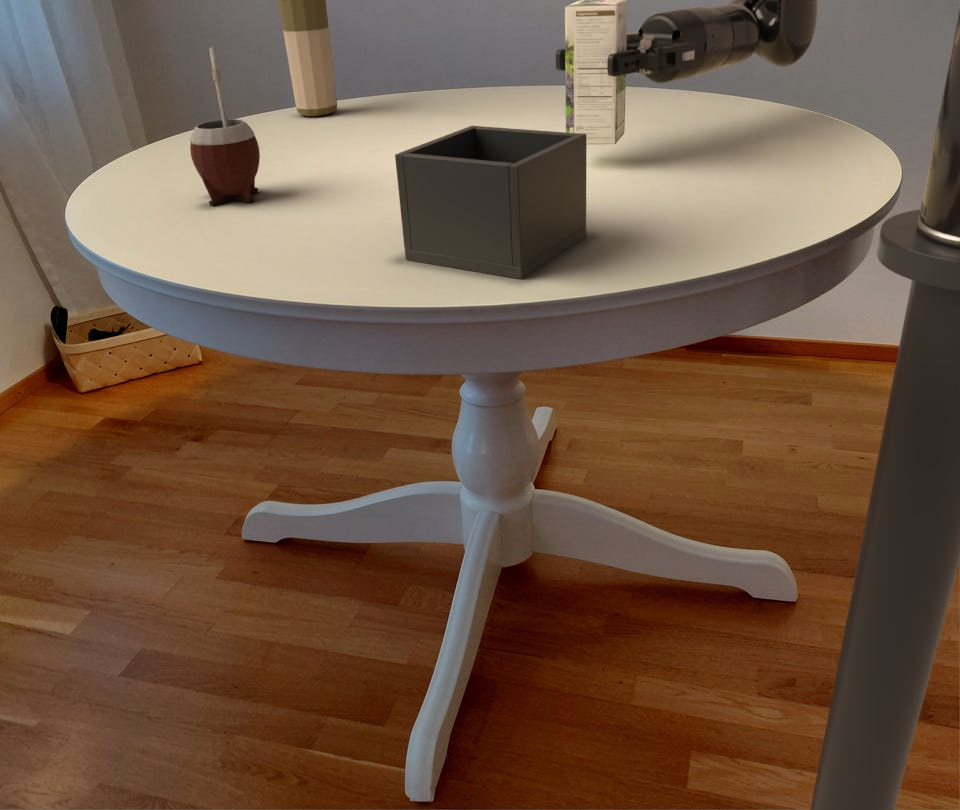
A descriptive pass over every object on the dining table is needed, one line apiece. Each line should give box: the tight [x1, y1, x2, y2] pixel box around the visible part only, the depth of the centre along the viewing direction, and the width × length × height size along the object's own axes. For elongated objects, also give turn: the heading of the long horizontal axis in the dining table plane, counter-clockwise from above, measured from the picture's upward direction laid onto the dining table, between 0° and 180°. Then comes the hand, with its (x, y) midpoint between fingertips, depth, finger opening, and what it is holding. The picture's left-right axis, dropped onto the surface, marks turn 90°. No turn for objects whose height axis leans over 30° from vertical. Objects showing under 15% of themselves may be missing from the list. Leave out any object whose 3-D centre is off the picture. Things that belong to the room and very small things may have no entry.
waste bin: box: [394, 125, 587, 280], centre depth 75 cm, size 12×12×9 cm
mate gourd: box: [189, 46, 261, 207], centre depth 94 cm, size 8×8×15 cm
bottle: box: [277, 0, 338, 118], centre depth 131 cm, size 7×7×30 cm
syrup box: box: [564, 0, 628, 146], centre depth 97 cm, size 6×6×14 cm
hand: (583, 63), depth 95 cm, fingers closed on syrup box, 7 cm apart
